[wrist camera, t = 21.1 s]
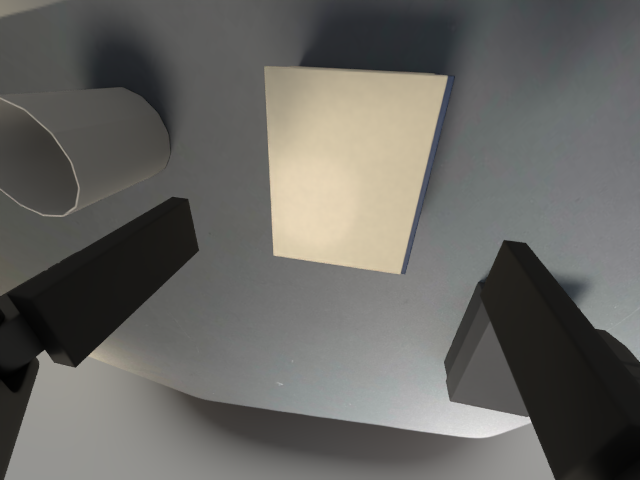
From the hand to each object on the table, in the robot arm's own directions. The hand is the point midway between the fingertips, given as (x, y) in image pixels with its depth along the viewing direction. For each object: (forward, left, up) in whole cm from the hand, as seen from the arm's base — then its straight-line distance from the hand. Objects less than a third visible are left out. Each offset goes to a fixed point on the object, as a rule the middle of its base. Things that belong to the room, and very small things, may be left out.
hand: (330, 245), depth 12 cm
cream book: (0, 0, -10) cm, 10 cm away
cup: (+22, 0, -15) cm, 27 cm away
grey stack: (-18, +18, -15) cm, 29 cm away
